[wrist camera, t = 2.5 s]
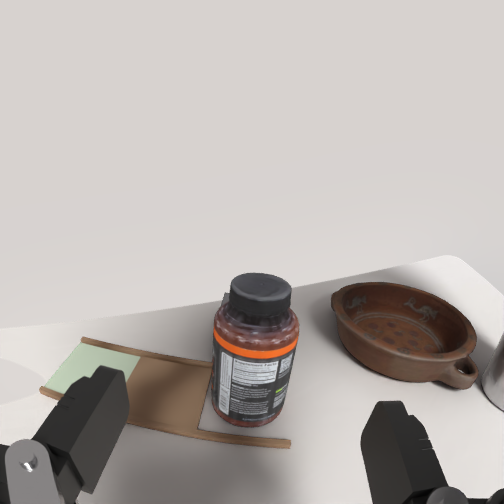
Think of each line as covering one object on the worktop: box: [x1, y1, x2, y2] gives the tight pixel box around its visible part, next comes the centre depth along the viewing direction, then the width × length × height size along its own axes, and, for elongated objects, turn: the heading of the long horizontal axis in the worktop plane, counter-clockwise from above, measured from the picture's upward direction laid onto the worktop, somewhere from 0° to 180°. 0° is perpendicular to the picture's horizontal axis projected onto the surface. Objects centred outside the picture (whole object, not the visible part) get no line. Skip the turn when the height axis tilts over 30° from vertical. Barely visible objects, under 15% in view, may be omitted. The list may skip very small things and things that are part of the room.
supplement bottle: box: [211, 273, 299, 427], centre depth 23 cm, size 6×6×11 cm
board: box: [39, 337, 291, 449], centre depth 25 cm, size 21×9×1 cm, turn 86°
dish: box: [331, 282, 478, 390], centre depth 33 cm, size 18×22×5 cm
